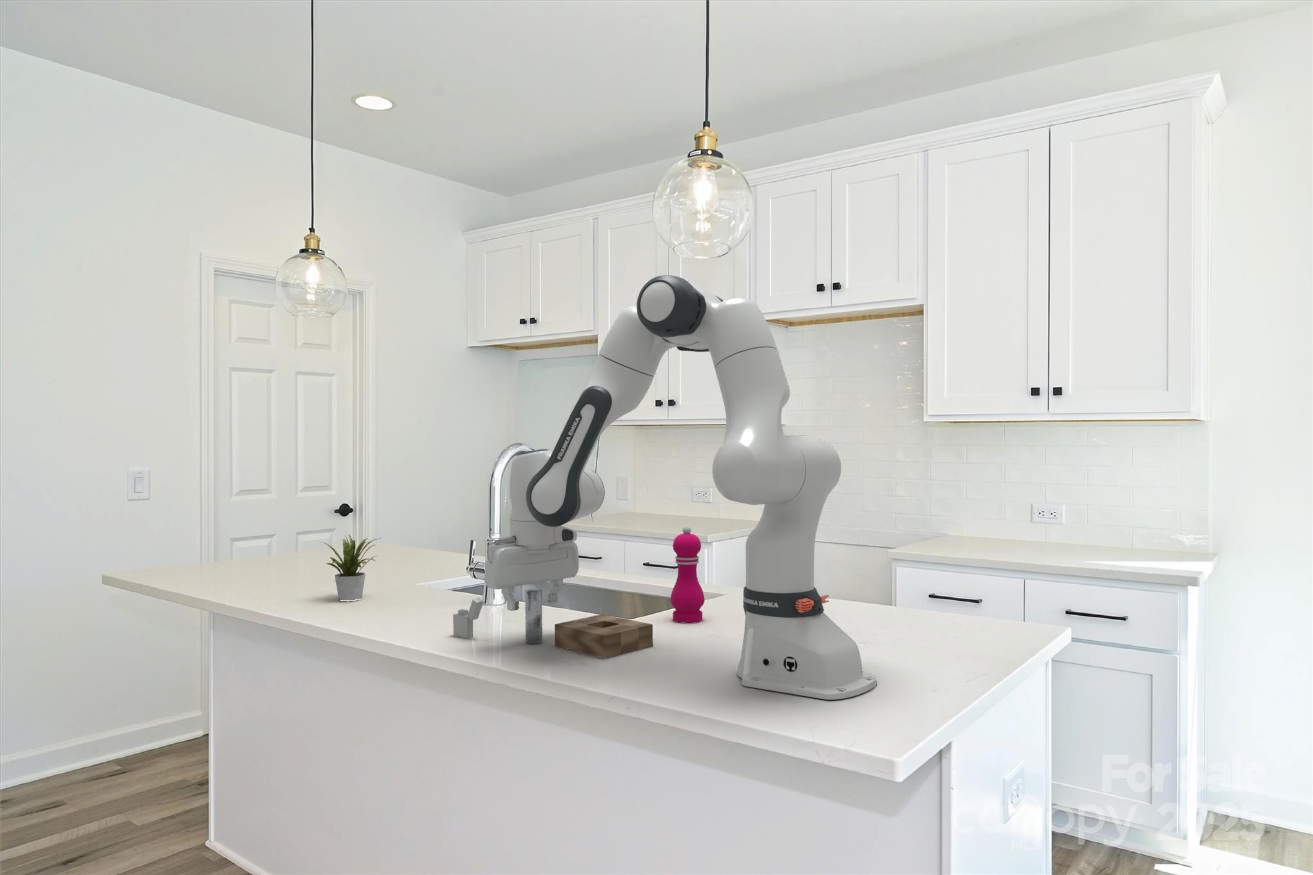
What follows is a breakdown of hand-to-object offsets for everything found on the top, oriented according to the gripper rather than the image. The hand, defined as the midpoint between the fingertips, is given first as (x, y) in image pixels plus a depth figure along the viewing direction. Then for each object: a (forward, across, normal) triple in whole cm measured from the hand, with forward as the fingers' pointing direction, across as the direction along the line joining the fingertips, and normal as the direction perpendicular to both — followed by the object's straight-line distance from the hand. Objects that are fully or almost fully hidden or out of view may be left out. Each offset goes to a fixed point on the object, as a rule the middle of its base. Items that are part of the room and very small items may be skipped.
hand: (533, 606), depth 164 cm
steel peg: (+7, 0, 0) cm, 7 cm away
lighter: (+7, -6, +12) cm, 16 cm away
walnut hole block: (+7, +7, -12) cm, 16 cm away
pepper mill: (+7, +34, -9) cm, 36 cm away
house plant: (+8, -3, +66) cm, 67 cm away
